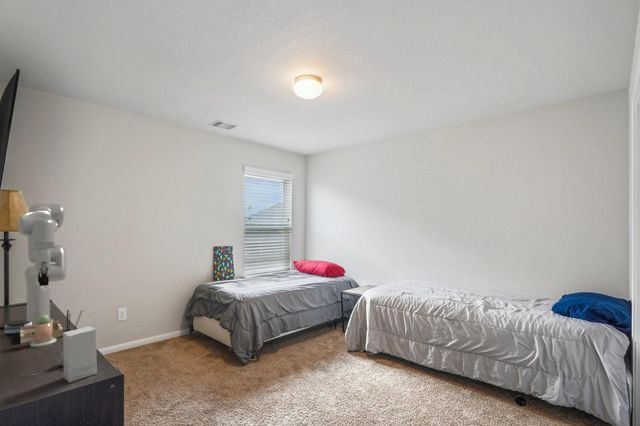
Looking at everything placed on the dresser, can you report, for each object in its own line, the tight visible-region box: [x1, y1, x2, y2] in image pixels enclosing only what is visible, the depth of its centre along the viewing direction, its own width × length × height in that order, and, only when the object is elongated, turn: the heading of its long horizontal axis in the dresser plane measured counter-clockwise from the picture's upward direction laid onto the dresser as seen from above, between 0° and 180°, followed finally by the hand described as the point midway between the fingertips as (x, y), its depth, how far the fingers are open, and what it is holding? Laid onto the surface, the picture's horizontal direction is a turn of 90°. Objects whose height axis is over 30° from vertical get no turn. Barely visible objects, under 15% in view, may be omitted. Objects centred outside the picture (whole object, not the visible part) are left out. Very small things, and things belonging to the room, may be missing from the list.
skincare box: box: [62, 326, 98, 383], centre depth 114 cm, size 8×7×16 cm
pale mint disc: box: [29, 337, 57, 348], centre depth 148 cm, size 9×9×1 cm
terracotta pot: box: [35, 315, 53, 343], centre depth 149 cm, size 6×6×12 cm
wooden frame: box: [19, 320, 64, 345], centre depth 159 cm, size 16×15×4 cm
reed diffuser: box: [58, 309, 83, 366], centre depth 125 cm, size 10×7×20 cm
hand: (43, 283), depth 152 cm, fingers open, 9 cm apart
